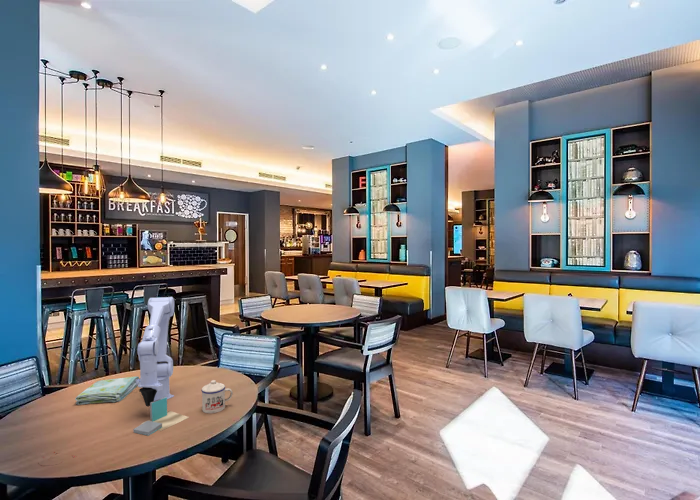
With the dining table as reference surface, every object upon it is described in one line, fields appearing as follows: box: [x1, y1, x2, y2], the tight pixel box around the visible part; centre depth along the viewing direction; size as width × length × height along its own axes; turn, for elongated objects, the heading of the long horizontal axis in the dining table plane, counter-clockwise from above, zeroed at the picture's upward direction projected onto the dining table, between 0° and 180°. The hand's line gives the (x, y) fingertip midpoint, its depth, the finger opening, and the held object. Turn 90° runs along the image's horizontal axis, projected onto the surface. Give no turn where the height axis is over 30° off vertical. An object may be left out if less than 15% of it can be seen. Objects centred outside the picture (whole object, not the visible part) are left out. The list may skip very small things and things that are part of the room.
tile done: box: [132, 420, 162, 437], centre depth 134 cm, size 7×6×1 cm
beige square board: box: [140, 410, 190, 432], centre depth 141 cm, size 12×12×1 cm
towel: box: [74, 375, 140, 406], centre depth 167 cm, size 18×21×5 cm
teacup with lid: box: [200, 379, 234, 414], centre depth 151 cm, size 12×9×12 cm
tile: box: [149, 397, 168, 422], centre depth 143 cm, size 1×6×7 cm, turn 151°
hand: (149, 405), depth 146 cm, fingers closed
